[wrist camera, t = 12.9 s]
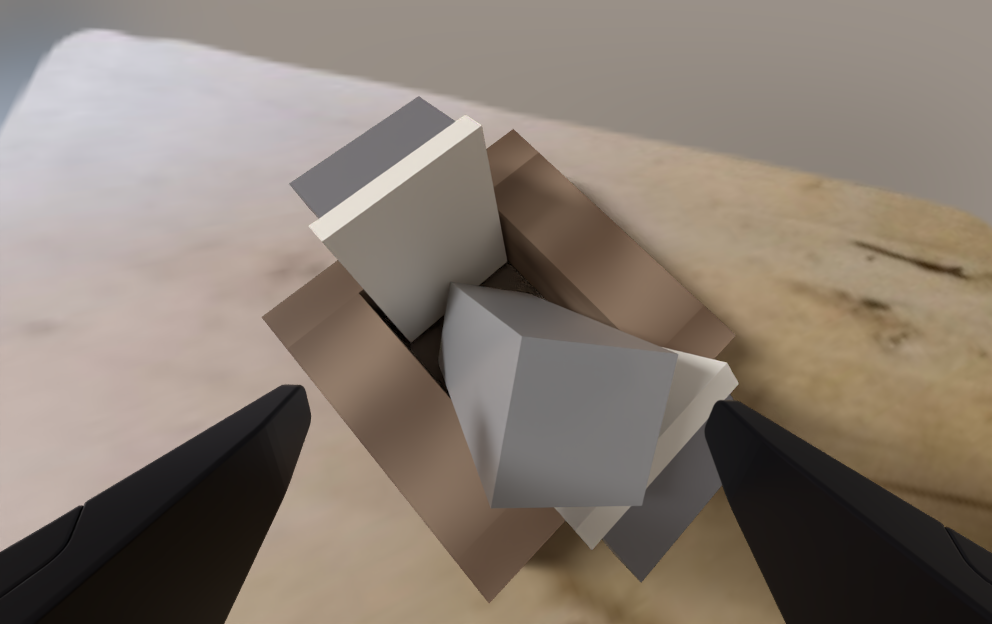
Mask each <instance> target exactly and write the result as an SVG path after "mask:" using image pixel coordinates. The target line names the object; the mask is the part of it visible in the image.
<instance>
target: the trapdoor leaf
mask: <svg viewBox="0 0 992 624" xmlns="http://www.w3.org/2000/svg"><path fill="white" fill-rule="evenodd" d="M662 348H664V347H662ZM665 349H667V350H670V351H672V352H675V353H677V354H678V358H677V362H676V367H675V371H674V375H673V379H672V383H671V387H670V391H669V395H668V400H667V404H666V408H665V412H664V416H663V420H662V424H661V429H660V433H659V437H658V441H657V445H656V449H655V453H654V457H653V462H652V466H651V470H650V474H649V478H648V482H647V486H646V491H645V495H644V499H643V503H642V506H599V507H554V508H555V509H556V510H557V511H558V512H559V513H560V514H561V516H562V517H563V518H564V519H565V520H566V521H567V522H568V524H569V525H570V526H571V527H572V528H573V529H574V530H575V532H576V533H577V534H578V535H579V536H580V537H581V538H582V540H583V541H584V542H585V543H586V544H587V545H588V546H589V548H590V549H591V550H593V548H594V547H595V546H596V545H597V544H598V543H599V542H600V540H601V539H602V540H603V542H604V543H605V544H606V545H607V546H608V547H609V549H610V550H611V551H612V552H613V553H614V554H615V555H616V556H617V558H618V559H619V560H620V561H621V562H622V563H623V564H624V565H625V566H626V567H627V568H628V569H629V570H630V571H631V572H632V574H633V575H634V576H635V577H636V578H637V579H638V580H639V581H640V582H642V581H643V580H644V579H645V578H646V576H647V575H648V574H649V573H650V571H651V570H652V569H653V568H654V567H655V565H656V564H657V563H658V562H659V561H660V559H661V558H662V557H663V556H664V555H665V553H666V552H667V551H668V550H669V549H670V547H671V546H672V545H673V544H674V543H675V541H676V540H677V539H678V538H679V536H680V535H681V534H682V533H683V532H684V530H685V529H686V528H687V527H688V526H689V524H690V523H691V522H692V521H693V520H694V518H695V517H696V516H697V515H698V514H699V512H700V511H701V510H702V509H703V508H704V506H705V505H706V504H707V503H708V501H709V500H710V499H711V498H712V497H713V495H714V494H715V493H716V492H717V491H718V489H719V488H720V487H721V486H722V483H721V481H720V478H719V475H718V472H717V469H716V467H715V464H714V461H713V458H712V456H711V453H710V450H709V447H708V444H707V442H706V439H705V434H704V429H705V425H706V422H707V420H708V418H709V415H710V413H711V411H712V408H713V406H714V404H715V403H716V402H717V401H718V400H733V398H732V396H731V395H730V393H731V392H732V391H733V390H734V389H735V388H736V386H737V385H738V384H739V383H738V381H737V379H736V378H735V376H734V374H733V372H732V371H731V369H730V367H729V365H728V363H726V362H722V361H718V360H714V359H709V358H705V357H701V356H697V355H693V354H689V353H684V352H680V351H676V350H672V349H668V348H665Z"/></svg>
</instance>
